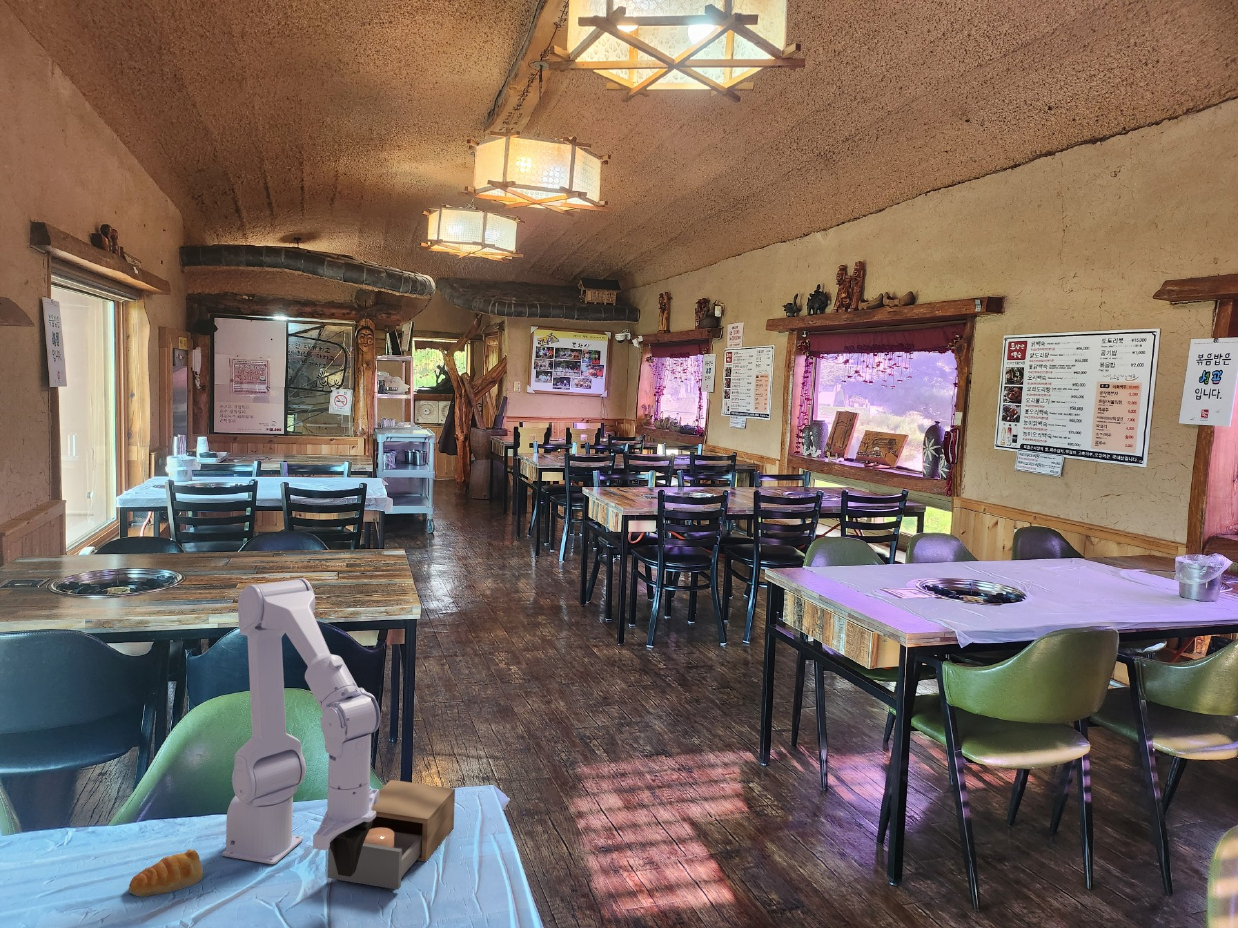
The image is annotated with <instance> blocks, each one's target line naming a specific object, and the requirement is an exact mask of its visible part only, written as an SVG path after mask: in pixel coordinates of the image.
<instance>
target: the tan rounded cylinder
mask: <svg viewBox="0 0 1238 928" xmlns="http://www.w3.org/2000/svg"><path fill="white" fill-rule="evenodd" d="M364 843H367V844H373V845H380V846H386V847H392V848H394V832H393V831H392V830H391V829H388V828H373V829H370V830H369V832H368V834H367V836H366V838H365V841H364Z"/></svg>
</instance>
